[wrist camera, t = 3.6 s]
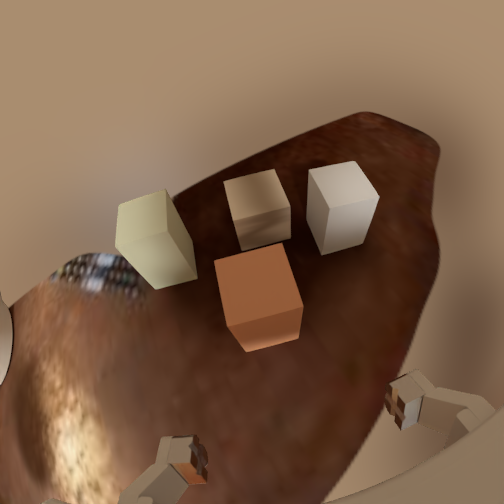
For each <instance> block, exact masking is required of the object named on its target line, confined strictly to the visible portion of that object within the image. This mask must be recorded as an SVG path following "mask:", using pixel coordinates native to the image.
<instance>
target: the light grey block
mask: <svg viewBox="0 0 504 504" xmlns="http://www.w3.org/2000/svg"><path fill="white" fill-rule="evenodd" d="M378 199H379V195H378V194H377V192H376V191H375V189H374V188H373V186H372V185H371V183H370V182H369V180H368V179H367V177H366V176H365V175H364V173H363V172H362V170H361V169H360V167H359V166H358V165H357V163H356V162H355V161H352V162H346V163H340V164H335V165H330V166H325V167H320V168H315V169H310V170H309V176H308V197H307V215H306V220H307V222H308V225H309V227H310V229H311V232H312V234H313V236H314V239H315V241H316V243H317V246H318V248H319V250H320V253H321V255H325V254H328V253H332V252H335V251H339V250H342V249H346V248H349V247H353V246H356V245H360V244H363V241H364V239H365V236H366V233H367V231H368V228H369V225H370V222H371V220H372V217H373V214H374V211H375V208H376V205H377V202H378Z"/></svg>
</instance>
